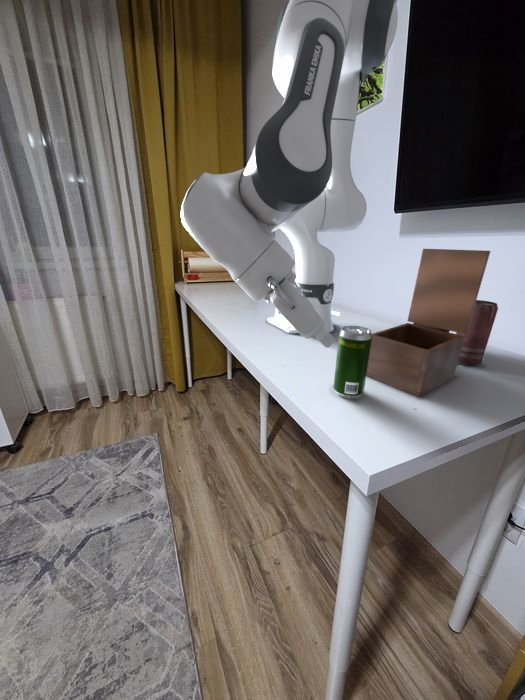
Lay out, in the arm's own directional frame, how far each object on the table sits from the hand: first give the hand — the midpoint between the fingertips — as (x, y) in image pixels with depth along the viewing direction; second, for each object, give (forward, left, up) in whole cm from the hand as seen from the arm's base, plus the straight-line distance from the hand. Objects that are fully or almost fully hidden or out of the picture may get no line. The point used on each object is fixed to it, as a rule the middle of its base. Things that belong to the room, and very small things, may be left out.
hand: (324, 333), depth 49 cm
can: (+10, +38, -11) cm, 41 cm away
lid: (+6, +28, +6) cm, 29 cm away
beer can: (+3, +4, -11) cm, 13 cm away
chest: (+6, +20, -11) cm, 24 cm away
